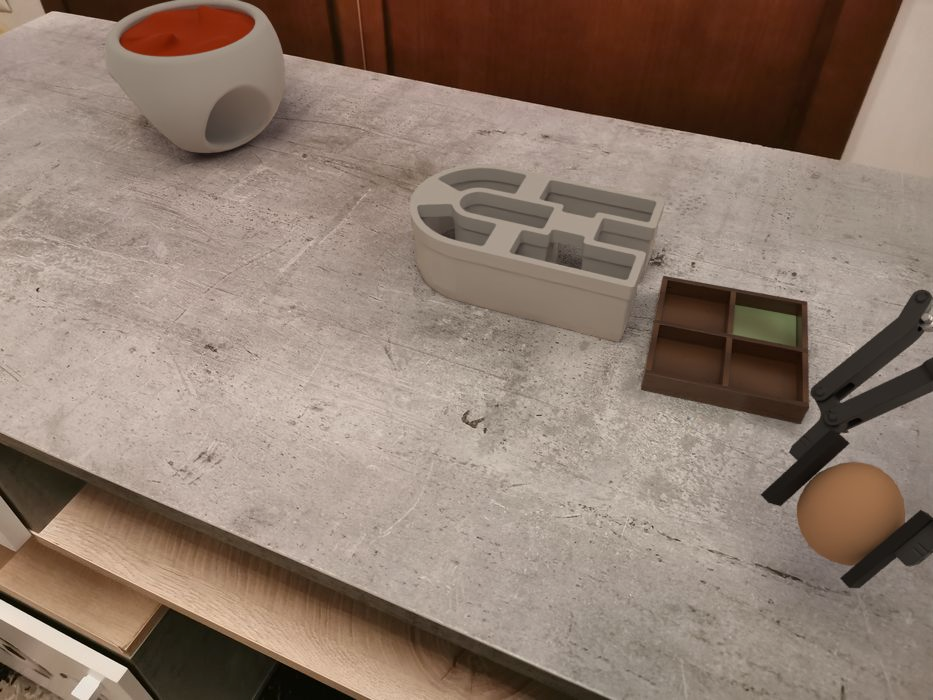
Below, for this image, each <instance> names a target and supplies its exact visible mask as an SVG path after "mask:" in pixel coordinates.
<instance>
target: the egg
mask: <svg viewBox="0 0 933 700" xmlns="http://www.w3.org/2000/svg"><path fill="white" fill-rule="evenodd" d="M904 499H905V498H904V496H903V494H902V492H901V490H900V488H899V485H898V484H897V482H896V481H895V480H894V479H893V478H892V477H891V476H890V475H889V474H888V473H886V472H885V471H884V470H883V469H881V468H879V467H877V466H875V465H872V464H869V463H867V462H859V461H854V462H842V463H838V464H835V465H832V466H830V467H827V468H824V469H822V470H820V471H819V472H818V473H817V474H816V475H815V476H814V477H812V478H811V479H810V480H809V481H808V482H807V483H806V484H805V485H804V487H803V490H802V491H801V493H800V495H799V498H798V501H797V504H796V521H797V525H798V528H799V531H800V534H801V536H802V538H803V539H804V540H805V542H806V544H807V545H808V546H809V547H810V548H811V549H812V550H813V551H814V552H815V553H816V554H818V555H819V556H821V557H822V558H824V559H826V560H827V561H830V562H832V563H836V564H839V565H844V566H850V567H851V566H852V567H854V566H855V565H856V564H857V563H858V562H859V561H861V560H862V559H863V558H864V557H865V556H867V555H868V554H869V553H870V552H871V551H872V550H874V549H875V548H876V547H877V546H878V545H880V544H881V543H882V542H883V541H884V540H885V539H887V538H888V537H889V536H890V535H891V534H893V533H894V532H895V531H896V530H897V529H898V528H900V527H901V526H902V525H903V524H904V523H906V517H907V516H906V507H905V500H904Z"/></svg>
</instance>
